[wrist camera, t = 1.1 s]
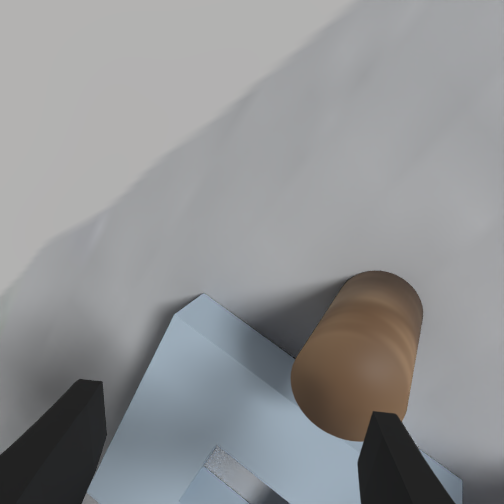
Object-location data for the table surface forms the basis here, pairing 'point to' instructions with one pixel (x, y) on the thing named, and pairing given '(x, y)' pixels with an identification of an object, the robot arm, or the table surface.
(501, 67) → the table surface
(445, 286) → the table surface
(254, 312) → the table surface
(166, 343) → the socket block
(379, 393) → the walnut peg
